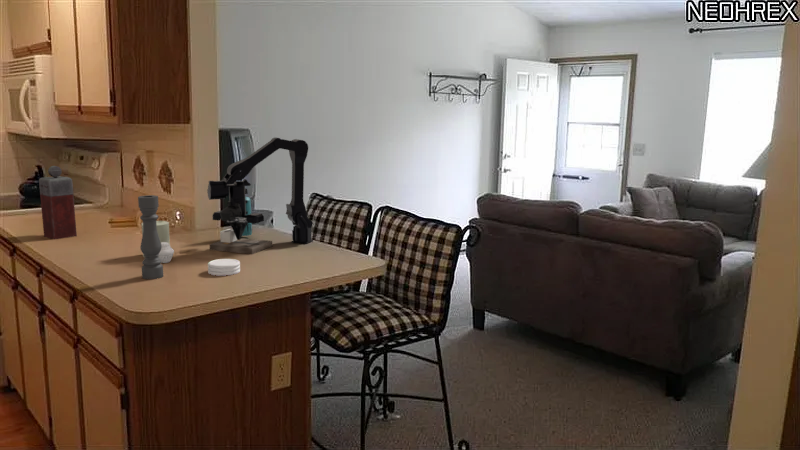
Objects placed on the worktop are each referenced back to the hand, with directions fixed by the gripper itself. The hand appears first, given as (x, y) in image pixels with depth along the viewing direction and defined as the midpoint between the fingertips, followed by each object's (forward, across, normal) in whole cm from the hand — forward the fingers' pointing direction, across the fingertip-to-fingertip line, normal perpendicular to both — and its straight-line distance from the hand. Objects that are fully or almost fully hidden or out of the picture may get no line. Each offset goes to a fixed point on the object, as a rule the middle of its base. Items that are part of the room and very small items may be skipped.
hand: (238, 239), depth 242 cm
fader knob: (+1, -4, 0) cm, 4 cm away
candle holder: (+3, -2, -45) cm, 45 cm away
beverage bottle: (+3, -8, +16) cm, 18 cm away
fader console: (+3, +1, 0) cm, 3 cm away
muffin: (+3, -11, -28) cm, 30 cm away
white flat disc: (+4, +15, -32) cm, 35 cm away
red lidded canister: (+3, -78, -8) cm, 78 cm away
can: (+3, -20, -21) cm, 29 cm away
